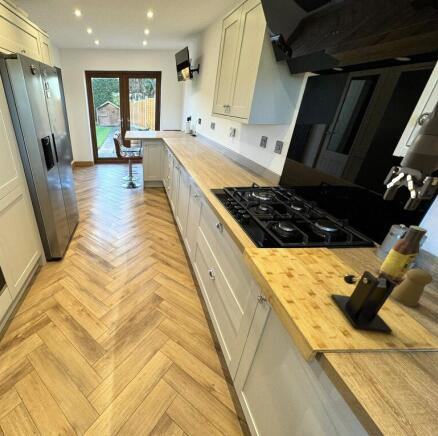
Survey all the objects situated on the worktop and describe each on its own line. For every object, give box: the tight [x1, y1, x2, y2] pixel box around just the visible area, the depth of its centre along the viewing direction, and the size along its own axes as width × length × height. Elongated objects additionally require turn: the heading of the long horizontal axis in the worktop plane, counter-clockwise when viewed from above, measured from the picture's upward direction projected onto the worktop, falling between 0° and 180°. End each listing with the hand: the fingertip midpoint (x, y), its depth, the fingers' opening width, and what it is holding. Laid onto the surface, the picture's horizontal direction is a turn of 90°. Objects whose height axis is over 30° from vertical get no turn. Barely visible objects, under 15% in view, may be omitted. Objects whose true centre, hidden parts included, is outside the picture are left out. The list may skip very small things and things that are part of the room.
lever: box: [343, 273, 386, 288], centre depth 69 cm, size 13×3×3 cm
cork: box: [390, 268, 434, 307], centre depth 73 cm, size 6×6×11 cm
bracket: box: [330, 270, 398, 335], centre depth 66 cm, size 12×9×14 cm
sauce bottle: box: [378, 225, 428, 282], centre depth 82 cm, size 7×6×20 cm
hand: (397, 204), depth 74 cm, fingers open, 8 cm apart
